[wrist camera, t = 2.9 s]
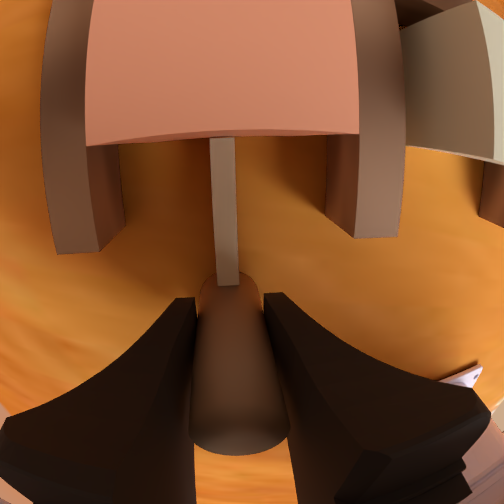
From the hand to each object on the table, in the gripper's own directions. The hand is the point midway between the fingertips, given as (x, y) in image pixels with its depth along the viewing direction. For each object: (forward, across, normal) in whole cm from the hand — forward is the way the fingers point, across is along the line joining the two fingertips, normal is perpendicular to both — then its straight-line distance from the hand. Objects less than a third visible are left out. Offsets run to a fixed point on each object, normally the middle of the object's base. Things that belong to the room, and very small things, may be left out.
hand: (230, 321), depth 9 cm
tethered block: (+2, 0, -5) cm, 5 cm away
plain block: (+2, -8, -8) cm, 12 cm away
